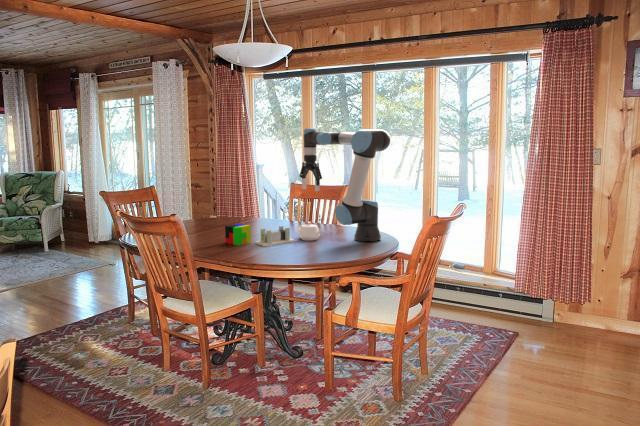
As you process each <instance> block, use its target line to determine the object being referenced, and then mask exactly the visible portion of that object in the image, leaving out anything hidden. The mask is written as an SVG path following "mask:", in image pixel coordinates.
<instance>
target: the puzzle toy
mask: <svg viewBox="0 0 640 426" xmlns="http://www.w3.org/2000/svg"><path fill="white" fill-rule="evenodd" d="M251 227H252V226H251V225H250V224H245V223H244V224H243V223H234V224H230V225H225V226H224V229H225V230H224V231H225V232H224V233H225V235H224V237H225V244H226V243H228V244H227V245H231V244H233V245H232V246H236V245H237V246H236V247H239V246H243V245H246V244H247V245H248V244H250V243H252V232H251V231H252V230H251ZM238 245H239V246H238Z"/></svg>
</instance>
